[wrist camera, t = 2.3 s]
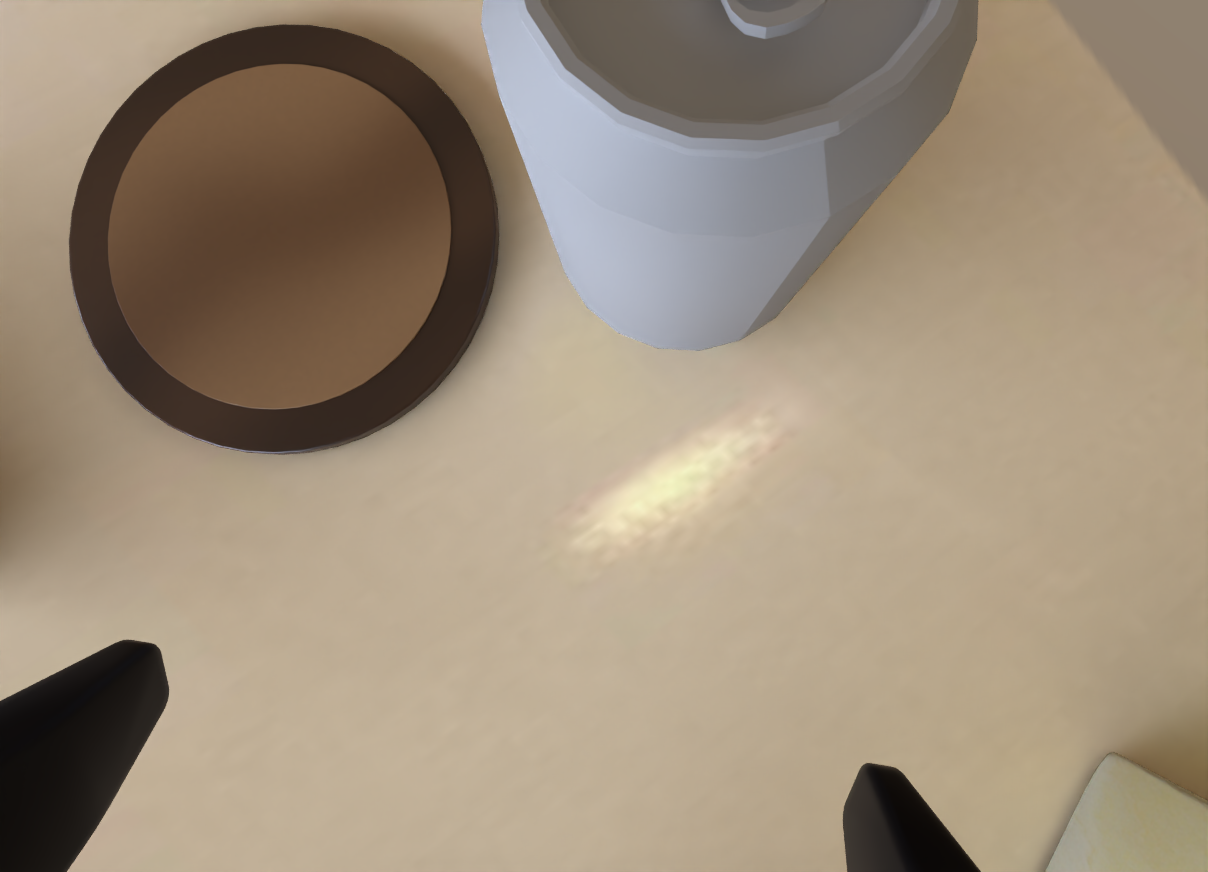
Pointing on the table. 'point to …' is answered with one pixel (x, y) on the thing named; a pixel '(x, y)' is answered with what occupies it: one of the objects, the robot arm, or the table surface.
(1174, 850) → the toy refrigerator
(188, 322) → the coaster
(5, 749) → the robot arm
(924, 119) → the can
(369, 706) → the table surface
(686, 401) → the table surface
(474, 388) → the table surface
